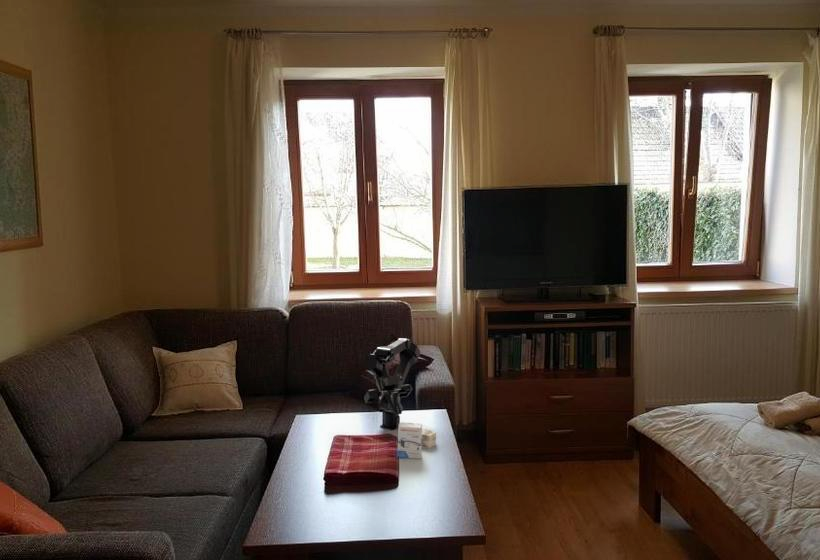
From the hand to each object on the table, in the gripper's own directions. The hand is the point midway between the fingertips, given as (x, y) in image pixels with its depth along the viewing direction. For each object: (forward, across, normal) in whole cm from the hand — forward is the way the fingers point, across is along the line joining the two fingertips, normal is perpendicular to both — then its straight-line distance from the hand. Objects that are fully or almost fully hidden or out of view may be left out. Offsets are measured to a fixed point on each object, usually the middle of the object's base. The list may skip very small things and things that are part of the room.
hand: (395, 412), depth 239 cm
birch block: (+13, +11, +6) cm, 18 cm away
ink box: (+17, 0, +1) cm, 17 cm away
